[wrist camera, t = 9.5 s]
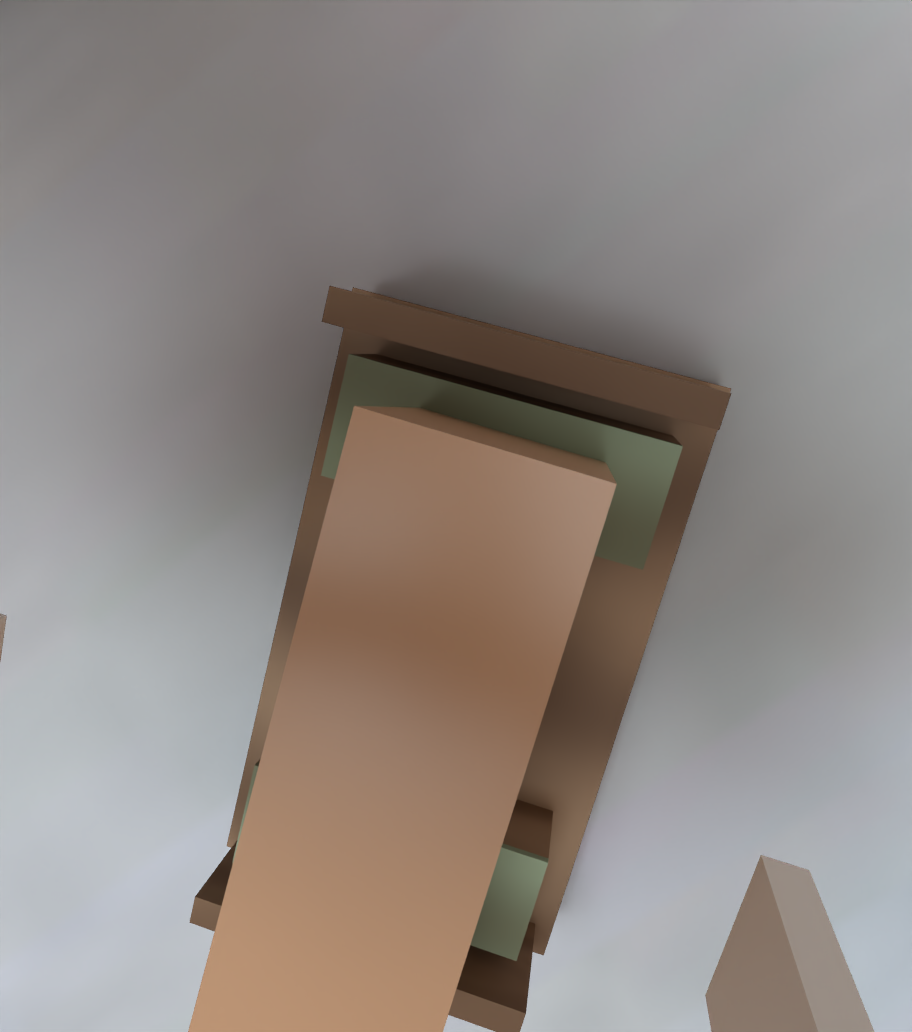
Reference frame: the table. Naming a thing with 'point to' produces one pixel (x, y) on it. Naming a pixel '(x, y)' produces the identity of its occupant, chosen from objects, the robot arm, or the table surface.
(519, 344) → the stand
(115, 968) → the table surface
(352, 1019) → the tan rectangular block
